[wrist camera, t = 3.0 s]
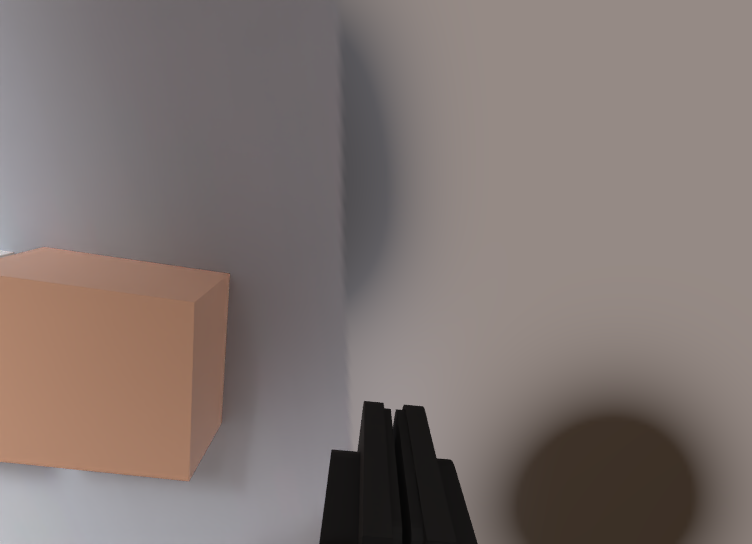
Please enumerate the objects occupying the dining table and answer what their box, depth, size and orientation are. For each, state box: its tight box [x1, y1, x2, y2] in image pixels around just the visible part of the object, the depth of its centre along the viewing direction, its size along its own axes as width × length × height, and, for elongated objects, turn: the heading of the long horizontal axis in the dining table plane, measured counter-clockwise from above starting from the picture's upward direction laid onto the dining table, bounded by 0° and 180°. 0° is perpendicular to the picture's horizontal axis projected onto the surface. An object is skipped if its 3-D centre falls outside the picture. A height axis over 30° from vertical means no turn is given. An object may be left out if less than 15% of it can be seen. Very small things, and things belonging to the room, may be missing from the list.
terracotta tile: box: [0, 247, 230, 481], centre depth 12 cm, size 6×6×3 cm
